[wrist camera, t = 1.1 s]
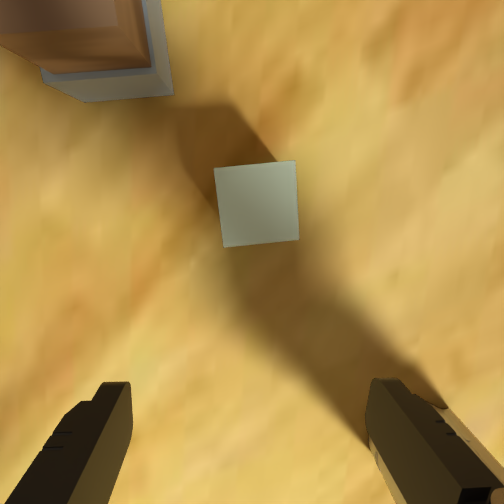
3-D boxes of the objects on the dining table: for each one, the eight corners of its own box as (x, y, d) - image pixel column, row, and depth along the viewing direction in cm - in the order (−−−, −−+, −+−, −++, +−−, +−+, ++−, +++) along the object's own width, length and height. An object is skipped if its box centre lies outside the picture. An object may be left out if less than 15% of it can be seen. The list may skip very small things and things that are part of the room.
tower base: (159, -11, 21) (135, -68, 16) (174, 95, 22) (157, 73, 18) (62, -4, 21) (8, -59, 16) (85, 103, 22) (43, 83, 18)
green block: (279, 164, 24) (295, 160, 17) (283, 222, 25) (299, 239, 19) (220, 170, 24) (213, 168, 17) (227, 228, 25) (223, 247, 19)
